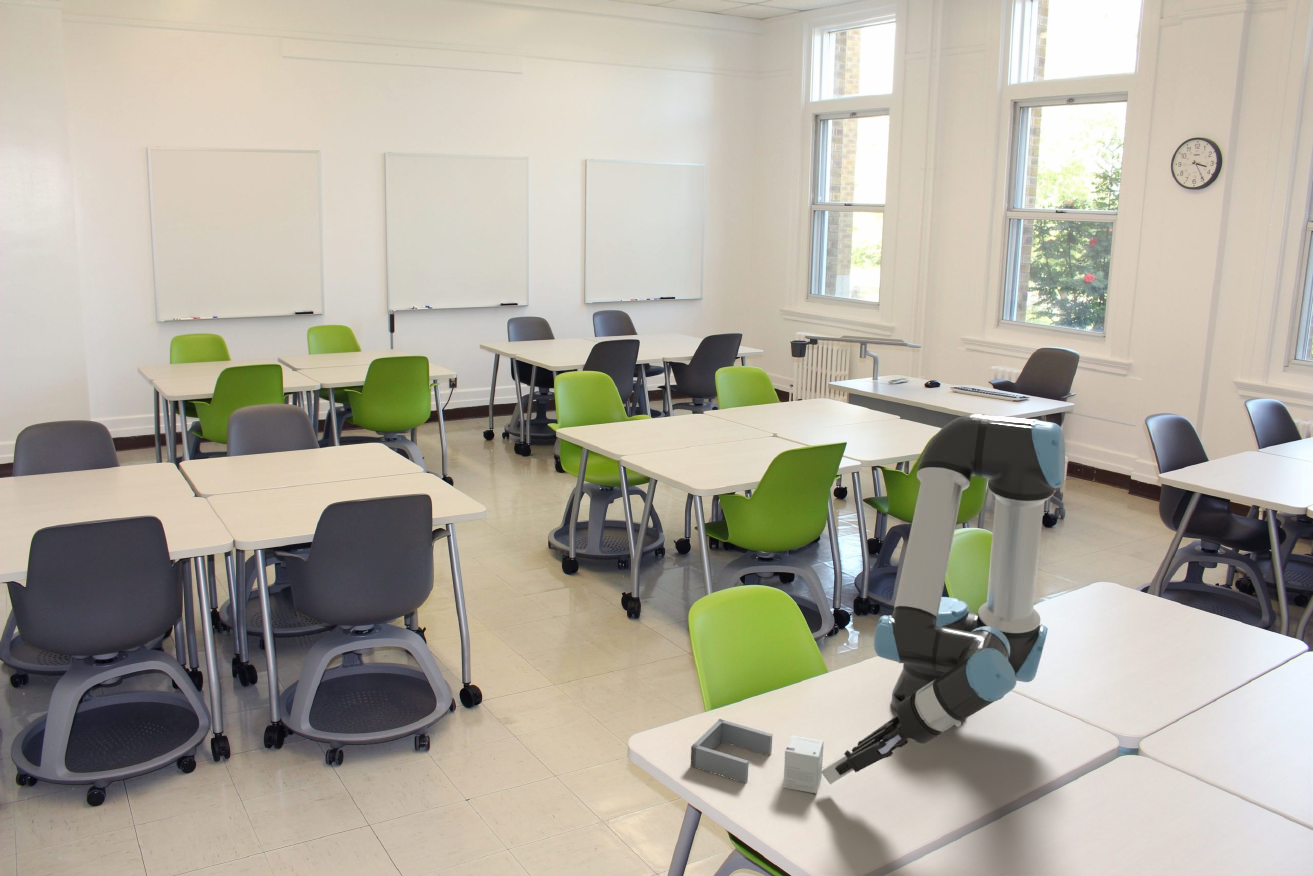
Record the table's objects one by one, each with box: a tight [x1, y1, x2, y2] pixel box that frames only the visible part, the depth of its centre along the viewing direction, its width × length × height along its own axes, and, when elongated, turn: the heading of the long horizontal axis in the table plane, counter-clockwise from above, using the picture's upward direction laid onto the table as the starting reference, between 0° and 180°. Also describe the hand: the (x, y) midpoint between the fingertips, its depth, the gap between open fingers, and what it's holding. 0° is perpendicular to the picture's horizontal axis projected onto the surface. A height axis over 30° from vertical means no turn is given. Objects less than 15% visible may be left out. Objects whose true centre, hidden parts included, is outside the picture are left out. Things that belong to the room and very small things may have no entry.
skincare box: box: [783, 734, 825, 794], centre depth 180 cm, size 6×6×7 cm
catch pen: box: [690, 718, 773, 784], centre depth 187 cm, size 12×11×4 cm
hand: (826, 776), depth 178 cm, fingers closed
